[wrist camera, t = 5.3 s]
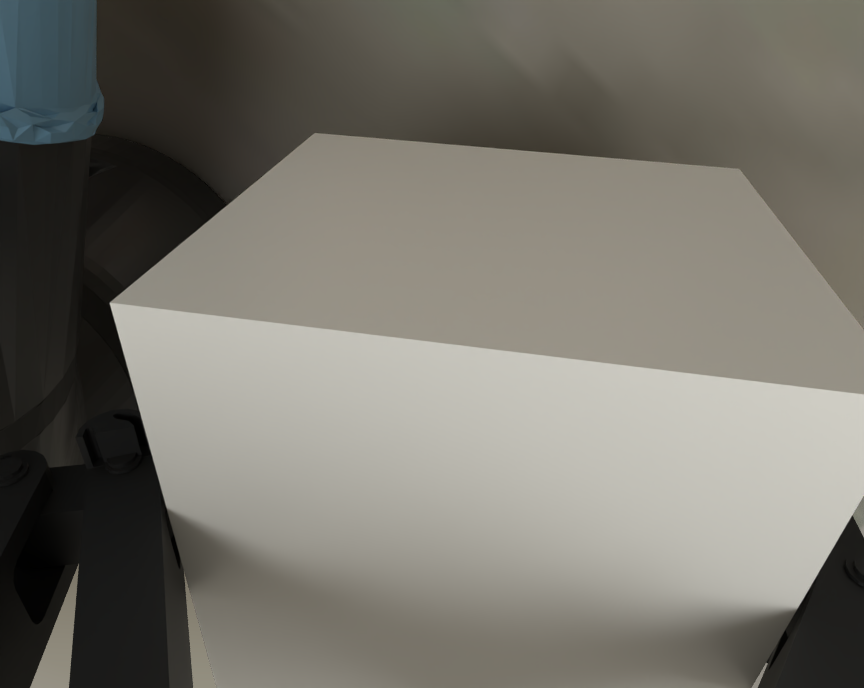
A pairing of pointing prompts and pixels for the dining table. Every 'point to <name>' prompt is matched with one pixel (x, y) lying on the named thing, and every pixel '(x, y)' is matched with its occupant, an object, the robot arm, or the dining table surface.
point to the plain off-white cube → (495, 420)
